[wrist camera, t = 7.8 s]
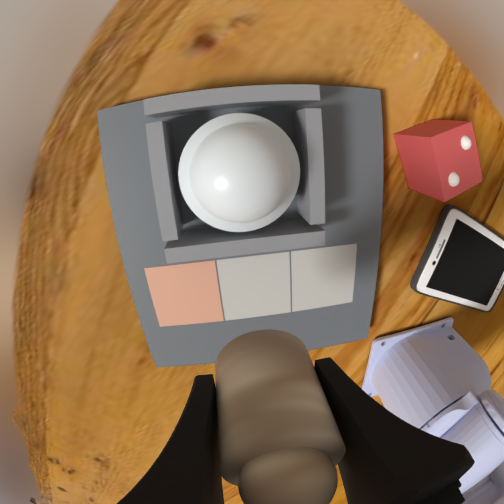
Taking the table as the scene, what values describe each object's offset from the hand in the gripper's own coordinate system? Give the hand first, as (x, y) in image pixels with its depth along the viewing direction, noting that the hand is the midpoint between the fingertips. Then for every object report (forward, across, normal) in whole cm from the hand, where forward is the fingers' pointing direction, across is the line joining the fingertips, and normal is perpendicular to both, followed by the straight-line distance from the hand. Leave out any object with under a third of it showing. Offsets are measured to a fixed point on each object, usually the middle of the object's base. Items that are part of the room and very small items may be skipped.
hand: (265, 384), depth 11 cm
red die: (+9, -13, -8) cm, 18 cm away
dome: (+8, 0, -7) cm, 11 cm away
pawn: (+1, 0, 0) cm, 1 cm away
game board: (+9, -1, -3) cm, 10 cm away
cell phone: (+10, -21, +2) cm, 23 cm away
